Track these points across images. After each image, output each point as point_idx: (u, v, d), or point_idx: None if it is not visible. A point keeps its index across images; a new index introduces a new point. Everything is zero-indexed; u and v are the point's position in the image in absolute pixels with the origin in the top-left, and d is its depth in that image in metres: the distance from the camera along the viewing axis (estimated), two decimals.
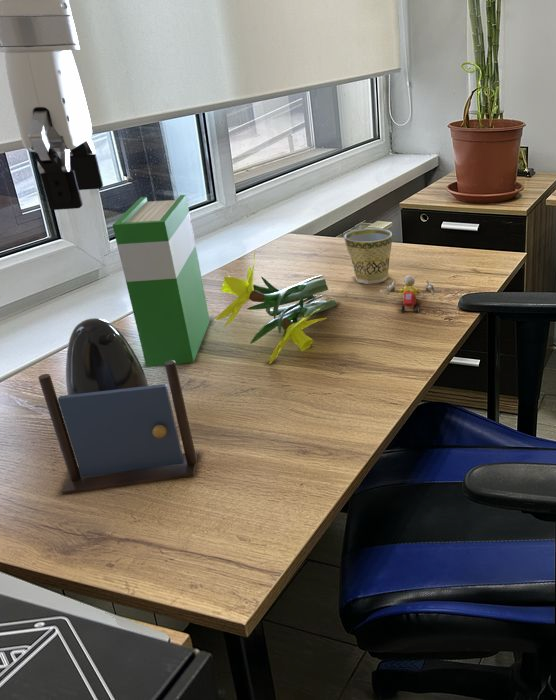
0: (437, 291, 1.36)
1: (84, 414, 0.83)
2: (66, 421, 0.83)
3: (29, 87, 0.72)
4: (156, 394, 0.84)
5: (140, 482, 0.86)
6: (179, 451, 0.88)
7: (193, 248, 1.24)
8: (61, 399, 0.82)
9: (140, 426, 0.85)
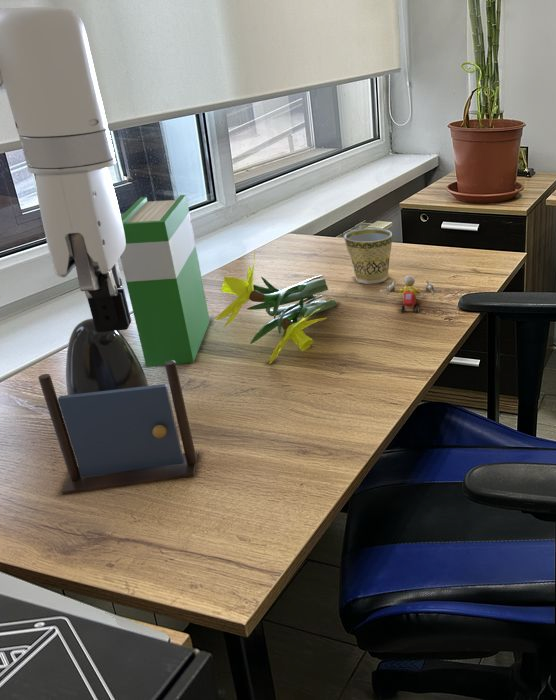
0: (437, 291, 1.36)
1: (84, 414, 0.83)
2: (66, 421, 0.83)
3: (61, 213, 0.65)
4: (156, 394, 0.84)
5: (140, 482, 0.86)
6: (179, 451, 0.88)
7: (193, 248, 1.24)
8: (61, 399, 0.82)
9: (140, 426, 0.85)
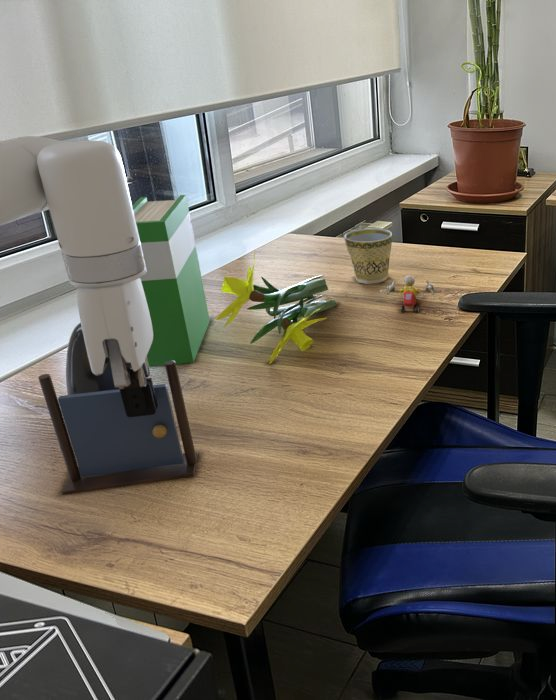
0: (437, 291, 1.36)
1: (84, 414, 0.83)
2: (66, 421, 0.83)
3: (99, 322, 0.72)
4: (156, 394, 0.84)
5: (140, 482, 0.86)
6: (179, 451, 0.88)
7: (193, 248, 1.24)
8: (61, 399, 0.82)
9: (140, 426, 0.85)
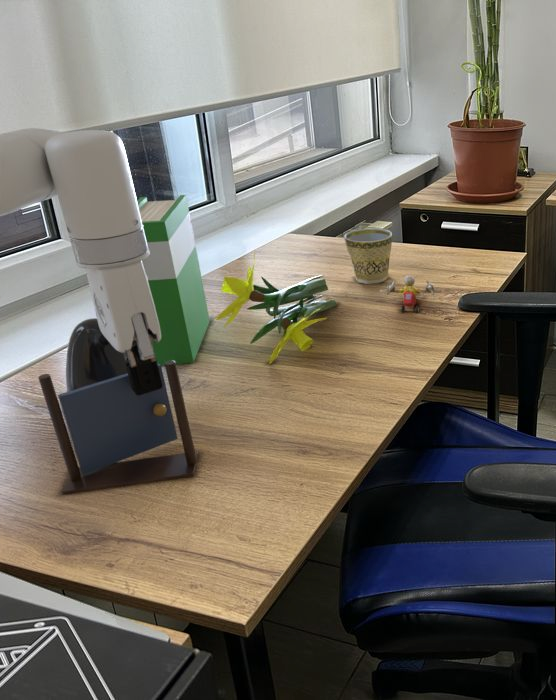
0: (437, 291, 1.36)
1: (85, 407, 0.84)
2: (68, 419, 0.83)
3: (128, 298, 0.77)
4: None
5: (140, 482, 0.86)
6: (174, 427, 0.93)
7: (193, 248, 1.24)
8: (63, 396, 0.82)
9: (139, 409, 0.89)
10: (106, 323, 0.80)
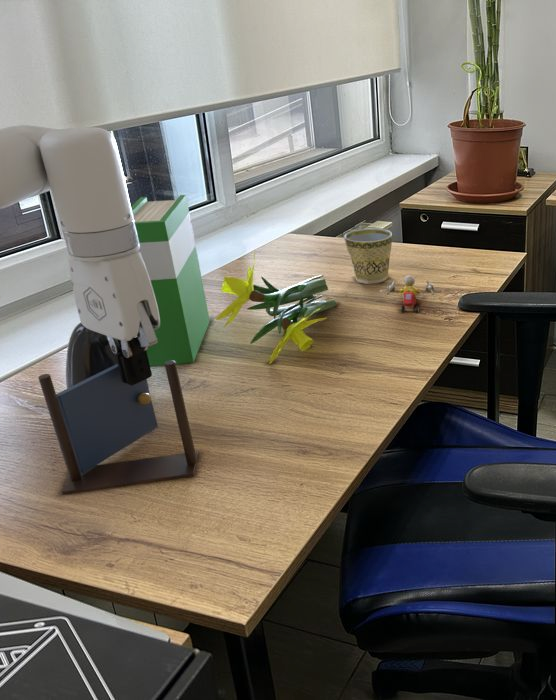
0: (437, 291, 1.36)
1: (81, 404, 0.85)
2: (67, 417, 0.84)
3: (133, 286, 0.81)
4: None
5: (140, 482, 0.86)
6: (154, 416, 0.96)
7: (193, 248, 1.24)
8: (62, 395, 0.83)
9: (125, 401, 0.91)
10: (105, 315, 0.82)
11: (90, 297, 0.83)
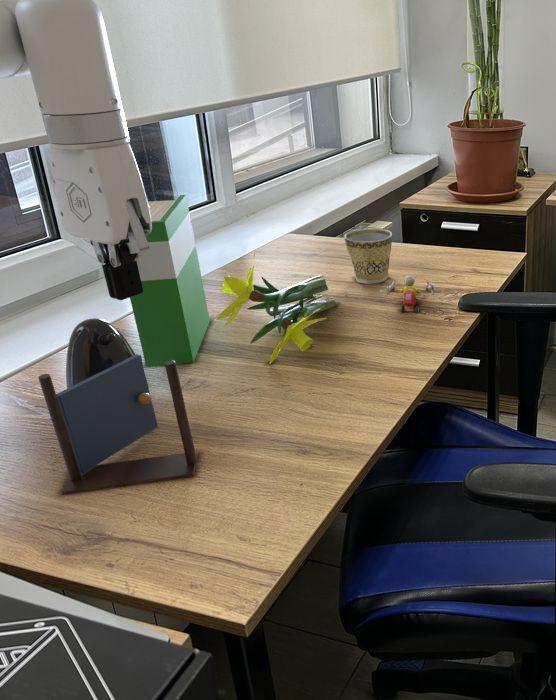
0: (437, 291, 1.36)
1: (81, 404, 0.85)
2: (67, 417, 0.84)
3: (122, 181, 0.72)
4: (134, 364, 0.91)
5: (140, 482, 0.86)
6: (154, 416, 0.96)
7: (193, 248, 1.24)
8: (62, 395, 0.83)
9: (125, 401, 0.91)
10: (90, 215, 0.74)
11: (73, 195, 0.74)
